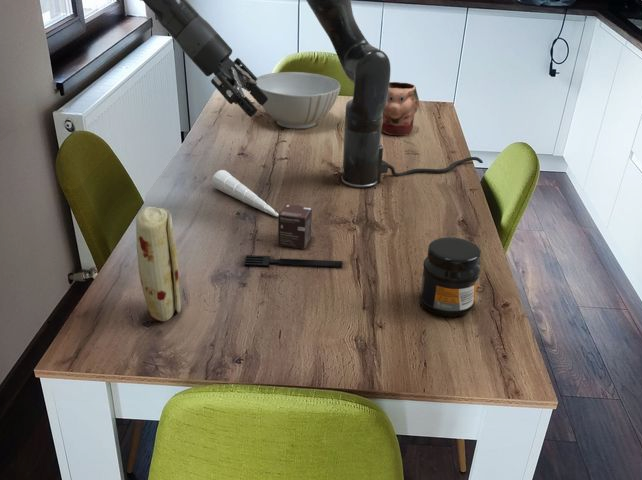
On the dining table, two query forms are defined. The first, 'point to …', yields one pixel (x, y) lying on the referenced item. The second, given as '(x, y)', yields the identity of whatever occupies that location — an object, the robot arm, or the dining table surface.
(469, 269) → the supplement container
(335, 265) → the fork
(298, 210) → the box
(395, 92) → the decorative planter
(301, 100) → the decorative bowl
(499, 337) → the dining table surface
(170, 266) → the food model
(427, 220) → the dining table surface
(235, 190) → the unicorn horn
